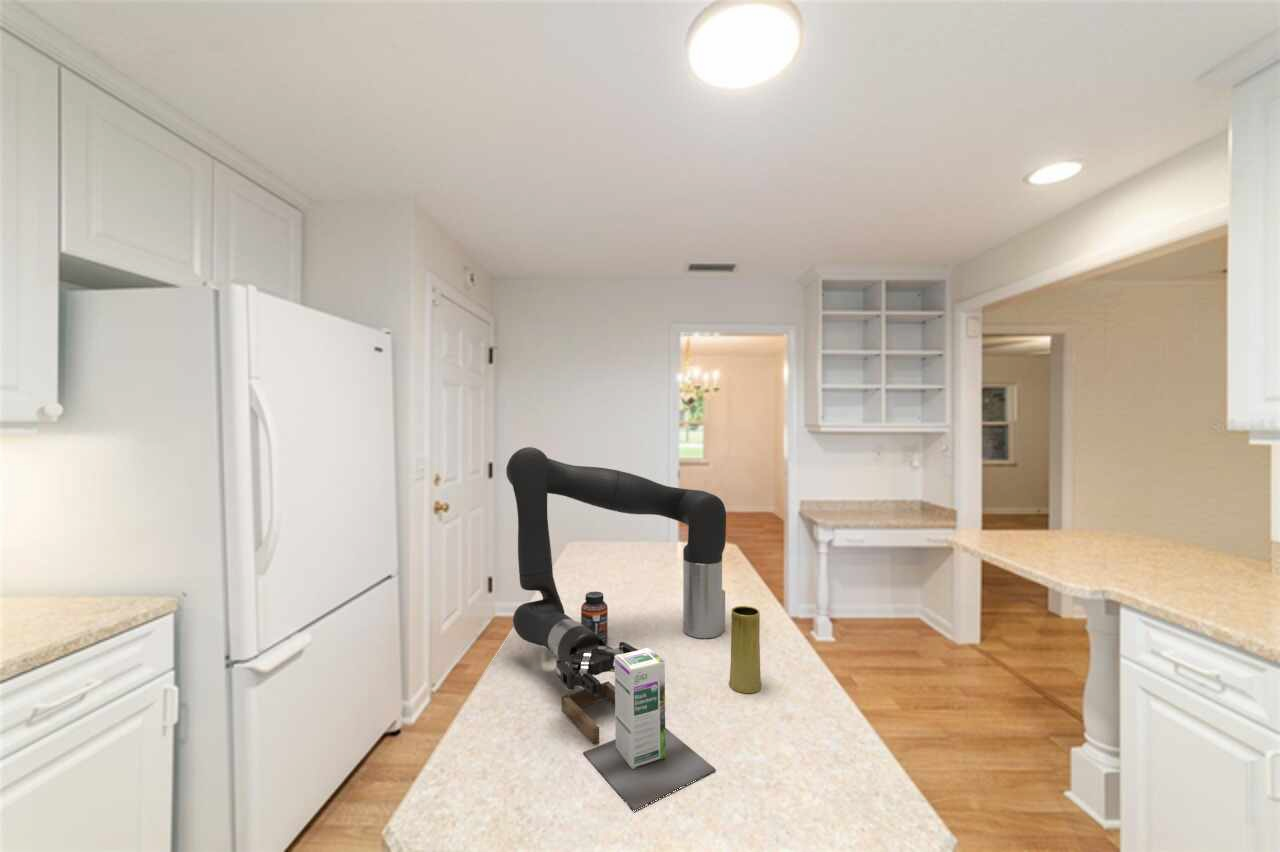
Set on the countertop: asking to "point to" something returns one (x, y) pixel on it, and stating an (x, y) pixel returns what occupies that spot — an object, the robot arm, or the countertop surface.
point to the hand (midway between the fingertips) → (622, 682)
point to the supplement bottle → (595, 614)
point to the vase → (745, 650)
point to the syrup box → (640, 707)
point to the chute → (627, 782)
